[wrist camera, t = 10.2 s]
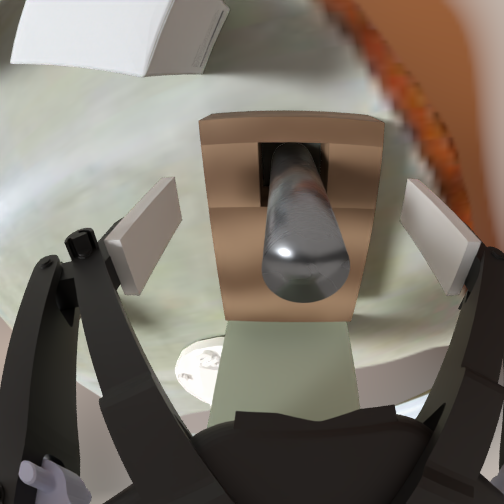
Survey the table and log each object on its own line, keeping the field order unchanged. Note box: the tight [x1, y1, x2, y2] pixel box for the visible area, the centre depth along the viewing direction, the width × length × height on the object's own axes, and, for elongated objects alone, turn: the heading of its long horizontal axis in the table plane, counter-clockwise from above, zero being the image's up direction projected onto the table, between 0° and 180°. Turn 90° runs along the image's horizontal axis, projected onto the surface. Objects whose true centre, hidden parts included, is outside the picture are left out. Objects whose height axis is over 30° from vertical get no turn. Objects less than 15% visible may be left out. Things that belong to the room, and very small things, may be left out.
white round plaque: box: [175, 337, 225, 407], centre depth 39 cm, size 20×20×3 cm
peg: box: [262, 142, 350, 303], centre depth 16 cm, size 3×3×14 cm
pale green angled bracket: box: [207, 321, 360, 428], centre depth 21 cm, size 11×14×19 cm
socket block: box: [199, 111, 385, 322], centre depth 23 cm, size 18×12×4 cm, turn 3°
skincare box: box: [10, 0, 230, 77], centre depth 12 cm, size 10×6×10 cm, turn 69°
